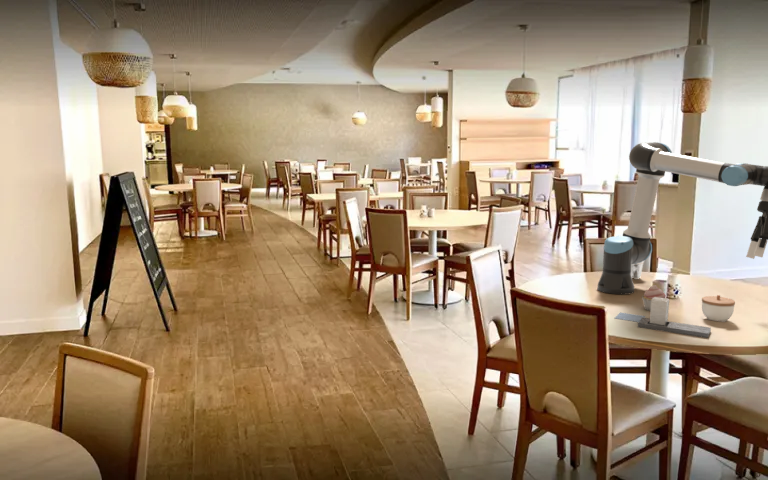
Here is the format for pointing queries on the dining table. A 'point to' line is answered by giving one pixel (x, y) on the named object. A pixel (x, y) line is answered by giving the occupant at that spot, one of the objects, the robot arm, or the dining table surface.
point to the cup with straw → (636, 270)
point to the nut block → (659, 311)
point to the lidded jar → (717, 308)
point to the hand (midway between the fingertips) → (753, 257)
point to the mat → (629, 317)
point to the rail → (677, 328)
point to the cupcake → (652, 296)
